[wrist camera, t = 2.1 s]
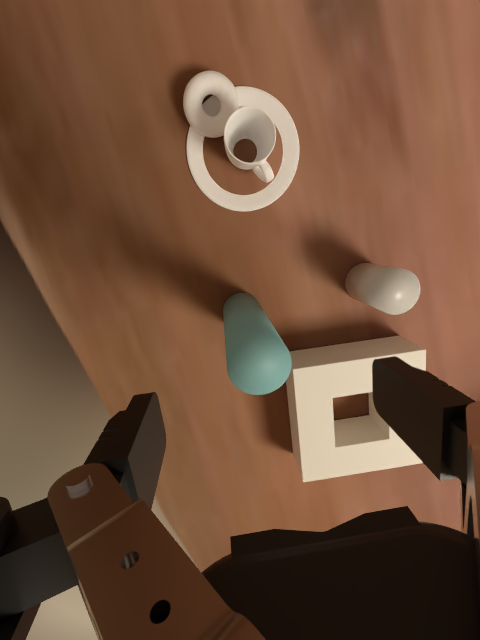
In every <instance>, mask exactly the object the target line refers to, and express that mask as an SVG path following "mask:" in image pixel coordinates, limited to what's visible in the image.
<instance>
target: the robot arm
mask: <svg viewBox="0 0 480 640" xmlns="http://www.w3.org/2000/svg"><path fill="white" fill-rule="evenodd" d="M372 387H373V403H374V406H375V409H376V411H377V413H378V414H379V416H380V417H381V418H382V419H383V420H384V421H385V422H386V423H387V424H388V425H389V426H390V427H391V429H392V430H393V431H394V432H395V433H396V434H397V435H398V436H399V437H400V438H401V439H402V440H403V441H404V443H405V444H406V445H407V446H408V447H409V448H410V449H411V450H412V451H413V452H414V453H415V454H416V455H417V456H418V458H419V459H420V460H421V461H422V462H423V463H424V464H425V465H426V466H427V467H428V468H429V469H430V470H431V472H432V473H433V474H434V475H435V476H436V477H437V478H438V479H439V480H440V481H442V480H448V479H454V478H459V479H460V480H461V488H460V501H461V531H458V530H455V529H452V528H449V527H446V526H442V525H438V524H433V523H427V522H418V520H417V519H416V517H415V516H414V515H413V513H412V512H411V510H410V509H409V508H408V506H405V507H399V508H393V509H388V510H382V511H376V512H370V513H365V514H362V515H360V516H358V517H356V518H354V519H352V520H350V521H347V522H345V523H343V524H341V525H339V526H337V527H335V528H332V529H330V530H328V531H325V532H312V531H296V530H281V529H272V530H266V531H261V532H255V533H249V534H243V535H237V536H232V537H230V538H231V554H229V555H227V556H225V557H223V558H221V559H220V560H218V561H216V562H215V563H213V564H212V565H211V566H209V567H208V568H207V569H205V570H204V571H203V572H202V573H201V572H200V571H199V569H198V568H197V567H196V566H195V564H194V563H193V562H192V561H191V559H190V558H189V557H188V556H187V554H186V553H185V552H184V551H183V549H182V548H181V547H180V546H179V545H178V543H177V542H176V541H175V540H174V538H173V537H172V536H171V534H170V533H169V532H168V531H167V529H166V528H165V527H164V526H163V524H162V523H161V522H160V521H159V519H158V518H157V517H156V516H155V514H154V513H153V512H152V511H151V508H152V504H153V500H154V495H155V491H156V487H157V482H158V478H159V474H160V470H161V465H162V461H163V457H164V453H165V448H166V433H165V428H164V423H163V418H162V414H161V409H160V404H159V400H158V396H157V394H156V393H155V392H153V393H146V394H139V395H134V396H133V398H132V400H131V402H130V403H129V405H128V407H127V409H126V410H125V411H119V412H118V413H117V414H116V415H115V416H114V417H112V418H111V419H110V420H109V421H108V423H107V425H106V426H105V428H104V430H103V432H102V433H101V435H100V437H99V440H98V441H97V442H96V444H95V446H94V447H93V449H92V451H91V452H90V454H89V456H88V457H87V459H86V461H85V463H84V464H83V465H82V466H79V467H77V468H74V469H72V470H71V471H69V472H67V473H66V474H64V475H63V476H61V477H60V478H59V479H58V480H57V481H56V482H55V483H54V484H53V485H52V486H51V488H50V490H49V492H48V497H47V498H45V499H43V500H40V501H38V502H35V503H32V504H30V505H27V506H25V507H22V508H20V509H17V510H14V511H12V508H11V506H10V503H9V501H8V500H7V499H6V498H3V497H0V640H26V637H27V635H28V632H29V630H30V628H31V625H32V623H33V621H34V618H35V616H36V614H37V611H38V609H39V607H40V604H41V602H43V601H45V600H47V599H49V598H51V597H53V596H55V595H57V594H59V593H61V592H64V591H66V590H68V589H70V588H72V587H74V586H76V585H78V587H79V590H80V593H81V595H82V598H83V601H84V603H85V606H86V609H87V611H88V614H89V616H90V619H91V622H92V625H93V627H94V630H95V632H96V635H97V638H98V640H480V401H478V402H476V401H474V400H472V399H471V398H469V397H468V396H466V395H464V394H463V393H461V392H460V391H458V390H456V389H455V388H453V387H452V386H448V384H447V383H445V382H444V381H442V380H439V378H437V377H436V376H434V375H432V374H431V373H429V372H427V371H424V370H421V369H418V368H415V367H412V366H411V365H409V364H407V363H406V362H404V361H403V360H401V359H400V358H398V357H396V356H393V357H386V358H380V359H375V360H374V361H373V363H372Z"/></svg>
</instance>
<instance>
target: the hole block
mask: <svg viewBox="0 0 480 640" xmlns="http://www.w3.org/2000/svg"><path fill="white" fill-rule="evenodd" d="M289 353H290V355H291V360H292V366H291V371H290V374H289V376H288V378H287V380H286V386H287V397H288V407H289V417H290V427H291V438H292V448H293V455H294V458H295V461H296V463H297V466H298V469H299V472H300V475H301V478H302V481H303V482H308V481H315V480H321V479H327V478H333V477H339V476H346V475H352V474H358V473H364V472H370V471H377V470H383V469H389V468H395V467H401V466H407V465H414V464H420V463H423V462H422V461H421V460H420V459H419V458H418V456H417V455H416V454H415V453H414V452H413V451H412V450H411V449H410V448H409V447H408V446H407V445H406V444H405V443H404V441H403V440H402V439H401V438H400V437H399V436H398V435H397V434H396V433H395V432H394V431H393V430H392V429H391V427H390V426H389V425H388V424H387V423H386V422H385V421H384V420H383V419H382V418H381V417H380V416H379V414H378V413H377V411H376V409H375V406H374V403H373V387H372V363H373V361H374V360H375V359H380V358H386V357H393V356H396V357H398V358H400V359H401V360H403V361H404V362H406V363H407V364H409V365H411V366H412V367H415V368H418V369H421V370H424V371H425V369H426V349H424V348H422V347H420V346H418V345H417V344H415V343H413V342H411V341H409V340H407V339H405V338H404V337H402V336H400V335H399V336H392V337H385V338H378V339H371V340H364V341H358V342H351V343H344V344H337V345H330V346H323V347H317V348H310V349H303V350H296V351H289ZM362 393H368V395H369V415H366V416H360V417H353V418H347V419H340V420H334V415H333V398H336V397H342V396H349V395H355V394H362Z"/></svg>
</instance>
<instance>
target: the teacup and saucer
mask: <svg viewBox="0 0 480 640" xmlns="http://www.w3.org/2000/svg"><path fill="white" fill-rule="evenodd" d="M210 94H212V95H213V96H211V97H210V98H209V99H208V100H206V101H205V102H204V103H203V104H202V102H203V99H204V98H205V96H207V95H210ZM239 106H244V107H241V108H239ZM183 108H184V113H185V116H186V118H187V120H188V122H189V124H190V128H189V131H188V136H187V146H186V150H187V160H188V165H189V168H190V171H191V174H192V176H193V178H194V180H195V182H196V184H197V185H198V187H199V188H200V189H201V191H202V192H203V193H204V194H205V195H206V196H207V197H208V198H209V199H210V200H212V201H213V202H215V203H216V204H218V205H220V206H222V207H224V208H227V209H230V210H234V211H253V210H257V209H261V208H263V207H265V206H267V205H269V204H271V203H273V202H274V201H275V200H277V199H278V198H279V197H280V196H281V195H282V194H283V193H284V192H285V190H286V189H287V188H288V186H289V185H290V183H291V181H292V179H293V177H294V175H295V172H296V169H297V165H298V160H299V139H298V134H297V130H296V127H295V124H294V122H293V120H292V118H291V116H290V114H289V113H288V111H287V110H286V108H285V107H284V106H283V105H282V104H281V103H280V102H279V101H278V100H277V99H276V98H275V97H273V96H272V95H270V94H269V93H267V92H265V91H263V90H260V89H257V88H254V87H248V86H237V87H234V85H233V84H232V82H231V81H230V80H229V79H228V78H227V77H226V76H224V75H223V74H221V73H219V72H216V71H203V72H201V73H198V74H197V75H195V76H194V77H193V78H192V79H191V80H190V81H189V83H188V84H187V86H186V89H185V92H184V96H183ZM273 122H274V123H273ZM274 124H275V125H276V127H277V129H278V131H279V133H280V136H281V139H282V144H283V159H282V164H281V167H280V170H279V172H278V174H277V176H276V177H275V179H274V180H273V181H272V182H271V183H270V184H269V185H268V186H267V187H266V188H265V189H263V190H261V191H259V192H257V193H255V194H251V195H236V194H232V193H230V192H227V191H225V190H224V189H222V188H221V187H219V186H218V185H217V184H216V183H215V182H214V181H213V179H212V178H211V177H210V175H209V173H208V171H207V169H206V167H205V163H204V159H203V141H204V137H205V136H206V137H210V138H217V137H221V136H223V135H224V144H225V150H226V154H227V156H228V158H229V160H230V161H231V163H232V164H233V165H235V166H236V167H238V168H240V169H244V170H249V169H252V170H253V172H254V173H255V174H256V175H257V177H259V178H260V179H261V180H262V181H264V182H269V181H271V180H272V179H273V178H274V174H273V171H272V169H271V167H270V165H269V164H268V162H267V161H266V159H267V158H268V156H269V155H270V153H271V152H272V150H273V148H274V145H275V141H276V130H275V126H274ZM241 139H249V140H251V141H252V142H253V143H254V144H255V146H256V148H257V156H256V158H255V160H254V161H253V162H251V163H249V162H243V161H241V160H239V159H237V158H236V157H235V156H234V154H233V150H234V146H235V144H236V143H237V142H238V141H239V140H241Z"/></svg>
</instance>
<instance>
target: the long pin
mask: <svg viewBox="0 0 480 640" xmlns="http://www.w3.org/2000/svg"><path fill="white" fill-rule="evenodd" d="M223 320H224V333H225V346H226V359H227V371H228V375H229V377H230V379H231V381H232V383H233V384H234V385H235V386H236V387H237V388H238V389H240V390H241V391H243V392H245V393H248V394H253V395H263V394H268V393H271V392H273V391H275V390H276V389H278V388H279V387H281V386H282V385H283V384H284V383H285V381H286V380H287V378H288V376H289V374H290V371H291V366H292V360H291V355H290V353H289V350H288V349H287V347H286V345H285V344H284V342H283V341H282V339H281V338H280V336H279V334H278V333H277V331H276V330H275V328H274V326H273V325H272V323H271V322H270V320H269V318H268V317H267V315H266V314H265V312H264V311H263V309H262V307H261V306H260V304H259V303H258V301H257V300H256V298H255V297H253V296H252V295H250V294H248V293H236V294H234V295H232V296H230V297H229V298H228V299H227V300H226V302H225V304H224V306H223Z"/></svg>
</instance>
